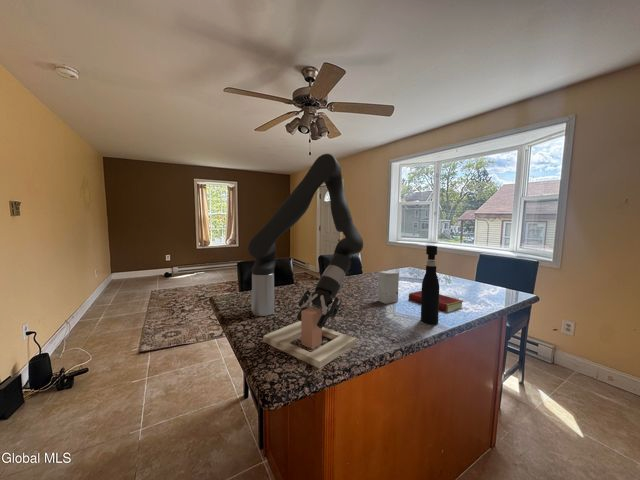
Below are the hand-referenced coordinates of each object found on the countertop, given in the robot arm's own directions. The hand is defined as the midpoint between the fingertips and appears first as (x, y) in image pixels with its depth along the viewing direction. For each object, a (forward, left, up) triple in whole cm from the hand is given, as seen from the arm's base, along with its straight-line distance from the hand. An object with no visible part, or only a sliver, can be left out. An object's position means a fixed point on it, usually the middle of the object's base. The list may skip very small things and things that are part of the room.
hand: (308, 323), depth 81 cm
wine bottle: (+23, +45, -7) cm, 51 cm away
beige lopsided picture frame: (-1, +1, -7) cm, 7 cm away
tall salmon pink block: (0, +1, -7) cm, 7 cm away
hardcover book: (+18, +70, -8) cm, 73 cm away
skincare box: (-1, +59, -7) cm, 60 cm away
